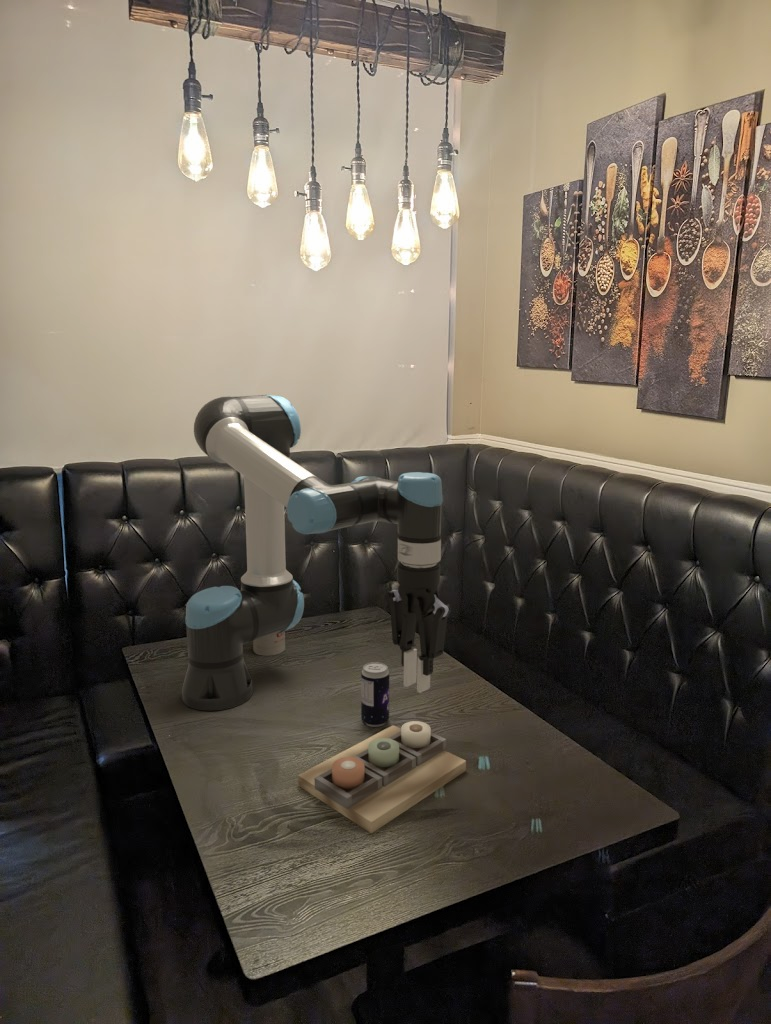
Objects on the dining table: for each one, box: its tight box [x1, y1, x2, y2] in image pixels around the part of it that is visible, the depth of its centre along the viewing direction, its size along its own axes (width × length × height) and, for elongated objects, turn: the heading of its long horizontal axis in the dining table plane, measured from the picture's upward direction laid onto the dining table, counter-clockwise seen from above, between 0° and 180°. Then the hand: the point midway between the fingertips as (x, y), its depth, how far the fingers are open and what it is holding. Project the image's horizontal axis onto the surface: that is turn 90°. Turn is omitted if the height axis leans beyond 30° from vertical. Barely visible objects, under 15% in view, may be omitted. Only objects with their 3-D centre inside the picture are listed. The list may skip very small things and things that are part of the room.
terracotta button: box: [332, 757, 365, 788], centre depth 117 cm, size 5×5×3 cm
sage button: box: [368, 738, 399, 767], centre depth 123 cm, size 5×5×3 cm
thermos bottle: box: [252, 630, 286, 657], centre depth 176 cm, size 8×8×28 cm
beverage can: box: [360, 661, 390, 728], centre depth 142 cm, size 6×6×12 cm
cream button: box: [400, 720, 432, 748], centre depth 129 cm, size 5×5×3 cm
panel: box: [297, 724, 467, 834], centre depth 123 cm, size 18×25×4 cm
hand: (416, 686), depth 127 cm, fingers open, 3 cm apart
